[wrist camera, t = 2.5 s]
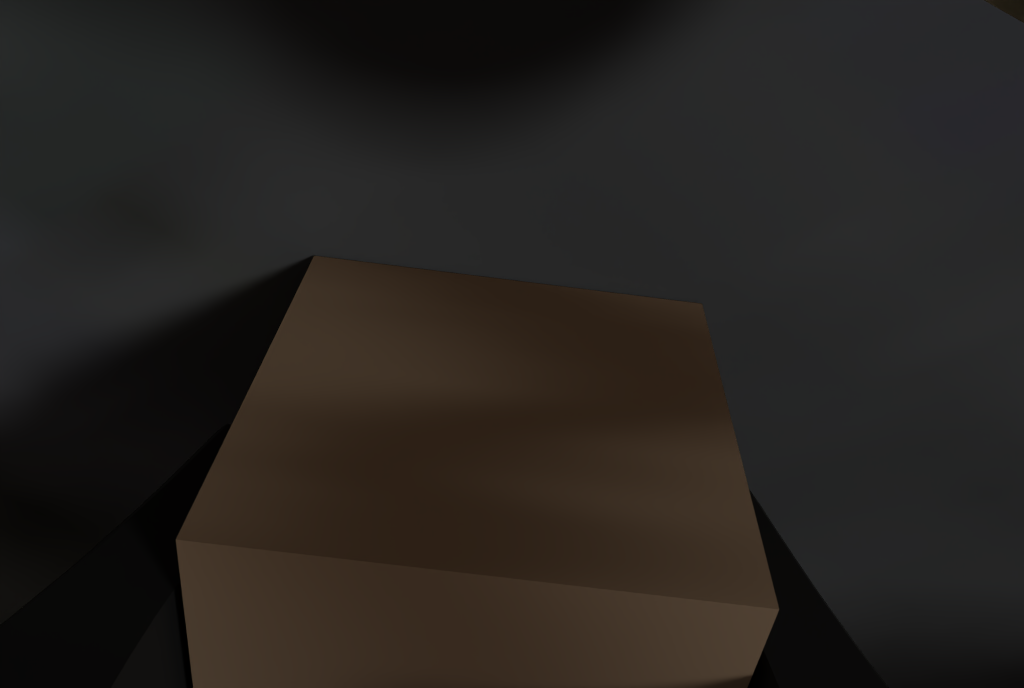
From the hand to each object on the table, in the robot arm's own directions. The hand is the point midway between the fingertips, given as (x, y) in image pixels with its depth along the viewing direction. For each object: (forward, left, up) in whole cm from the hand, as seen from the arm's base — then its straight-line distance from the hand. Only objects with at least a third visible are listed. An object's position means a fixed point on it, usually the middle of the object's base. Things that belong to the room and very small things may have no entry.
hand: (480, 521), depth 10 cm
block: (0, 0, -2) cm, 2 cm away
